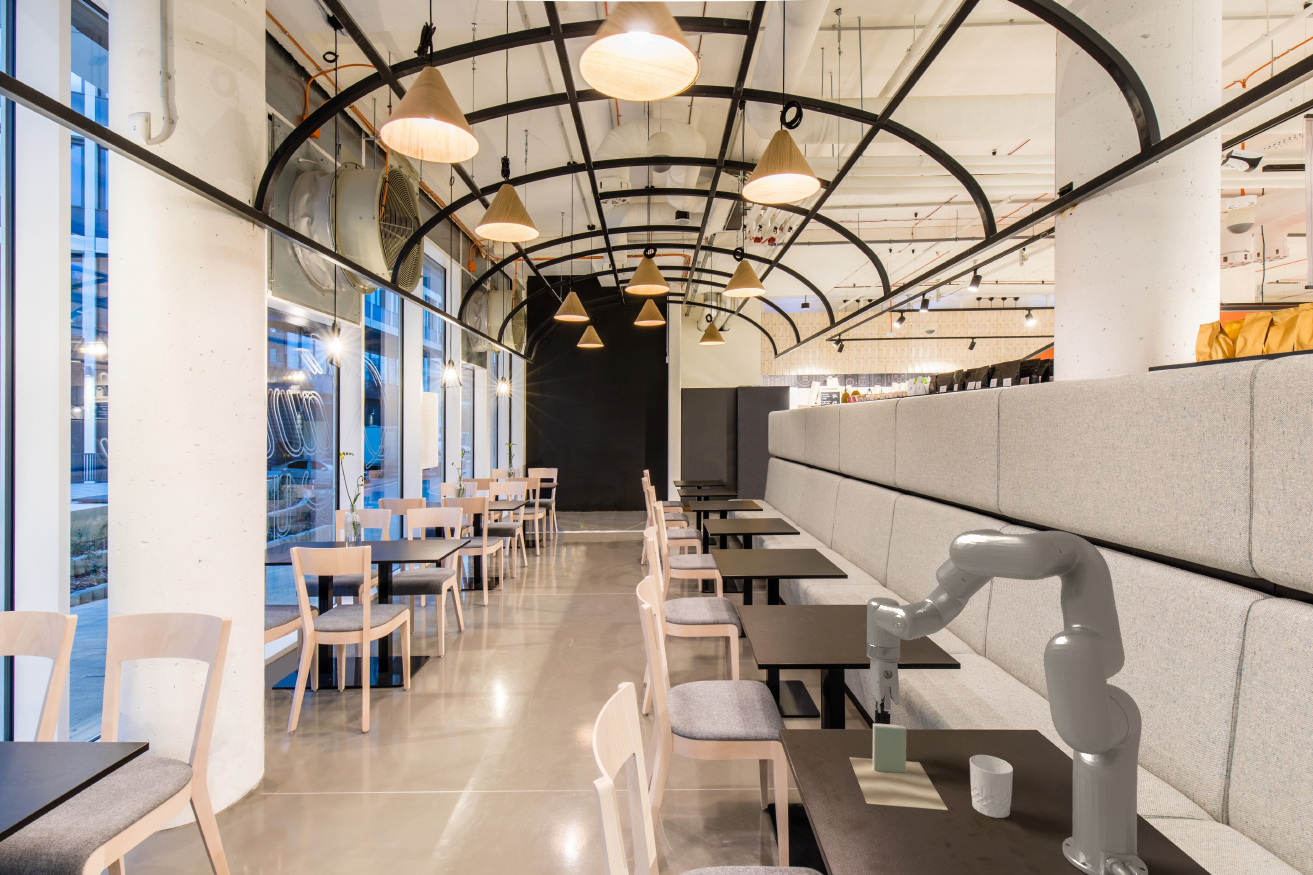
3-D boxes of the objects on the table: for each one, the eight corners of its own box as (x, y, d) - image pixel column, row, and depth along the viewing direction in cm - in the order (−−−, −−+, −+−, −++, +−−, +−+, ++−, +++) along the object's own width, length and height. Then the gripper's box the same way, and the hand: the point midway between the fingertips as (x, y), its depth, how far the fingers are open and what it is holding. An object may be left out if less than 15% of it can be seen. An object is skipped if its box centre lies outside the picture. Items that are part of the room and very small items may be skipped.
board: (947, 814, 129) (948, 809, 129) (866, 808, 131) (866, 803, 131) (919, 766, 149) (919, 762, 149) (849, 761, 151) (849, 757, 151)
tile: (906, 773, 144) (906, 728, 144) (874, 770, 145) (874, 726, 145) (904, 769, 146) (904, 725, 146) (872, 766, 147) (872, 723, 147)
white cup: (1018, 826, 126) (1018, 775, 126) (975, 821, 127) (975, 770, 127) (1005, 805, 133) (1005, 756, 134) (964, 800, 135) (965, 752, 135)
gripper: (907, 662, 145) (907, 743, 144) (891, 642, 160) (891, 716, 159) (873, 660, 146) (873, 741, 145) (860, 640, 161) (860, 714, 160)
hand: (882, 727), depth 152 cm, fingers closed
